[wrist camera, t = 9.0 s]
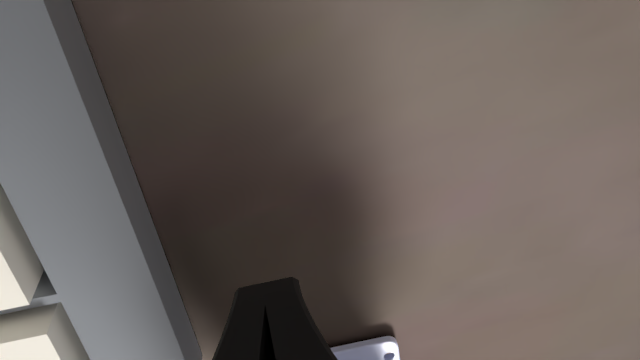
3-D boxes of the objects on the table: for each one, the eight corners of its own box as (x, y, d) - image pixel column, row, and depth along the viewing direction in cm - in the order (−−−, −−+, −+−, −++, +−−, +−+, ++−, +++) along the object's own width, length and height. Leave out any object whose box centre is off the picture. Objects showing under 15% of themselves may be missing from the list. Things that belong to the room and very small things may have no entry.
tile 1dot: (101, 341, 27) (85, 410, 24) (-33, 370, 27) (-68, 442, 24) (68, 272, 25) (45, 338, 22) (-78, 303, 25) (-122, 373, 22)
